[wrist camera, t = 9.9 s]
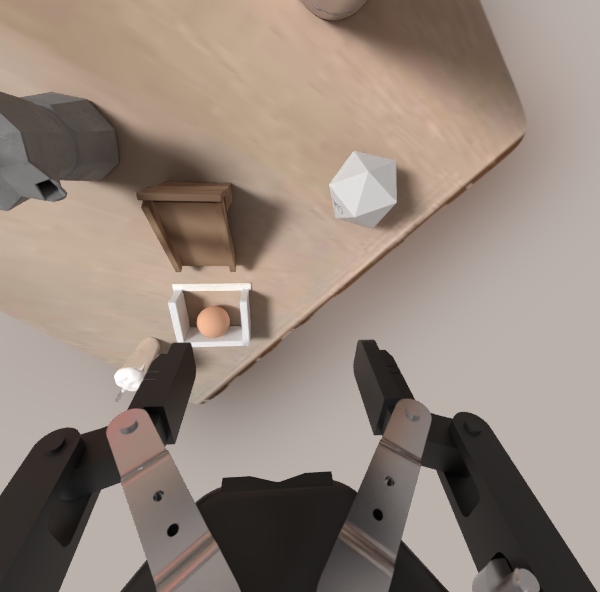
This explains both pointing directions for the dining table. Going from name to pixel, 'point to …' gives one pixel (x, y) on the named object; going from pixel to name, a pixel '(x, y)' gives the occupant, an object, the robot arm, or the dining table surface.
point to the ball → (213, 322)
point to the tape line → (212, 287)
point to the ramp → (191, 222)
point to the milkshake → (137, 365)
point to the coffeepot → (51, 146)
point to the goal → (196, 338)
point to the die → (364, 189)
